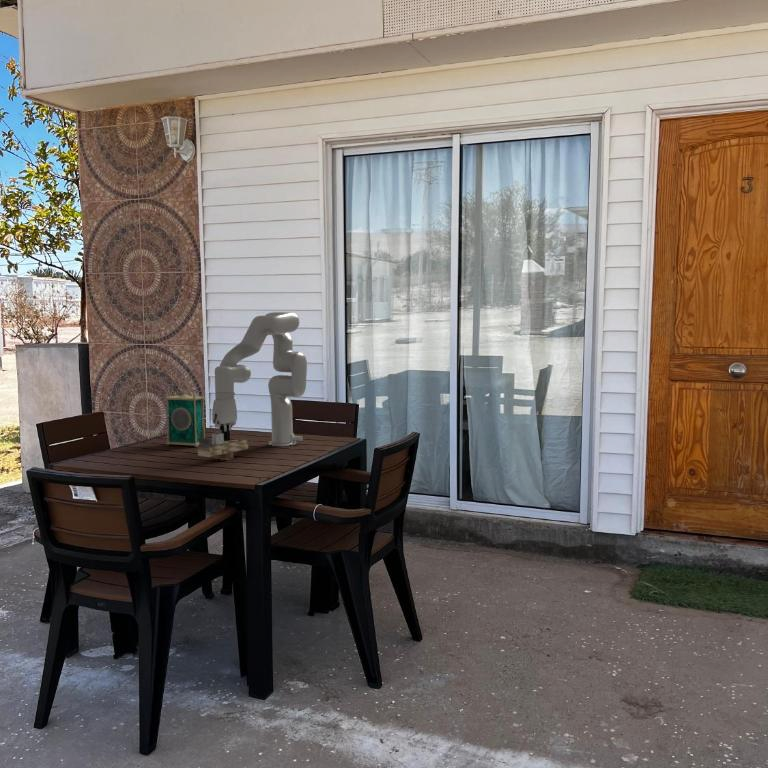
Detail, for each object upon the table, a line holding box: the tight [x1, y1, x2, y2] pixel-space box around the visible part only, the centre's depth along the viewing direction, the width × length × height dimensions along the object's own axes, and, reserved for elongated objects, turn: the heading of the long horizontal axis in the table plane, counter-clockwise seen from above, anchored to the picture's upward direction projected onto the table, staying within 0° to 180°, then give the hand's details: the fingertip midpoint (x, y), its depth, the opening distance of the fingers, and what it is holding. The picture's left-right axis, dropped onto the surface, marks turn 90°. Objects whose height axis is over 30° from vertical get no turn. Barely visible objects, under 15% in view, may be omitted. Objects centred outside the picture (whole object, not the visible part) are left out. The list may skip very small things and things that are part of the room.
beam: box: [197, 437, 249, 461], centre depth 312 cm, size 22×7×10 cm, turn 145°
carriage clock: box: [163, 379, 207, 448], centre depth 345 cm, size 17×9×30 cm, turn 70°
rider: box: [211, 430, 225, 447], centre depth 309 cm, size 4×2×7 cm, turn 145°
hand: (225, 440), depth 312 cm, fingers closed
